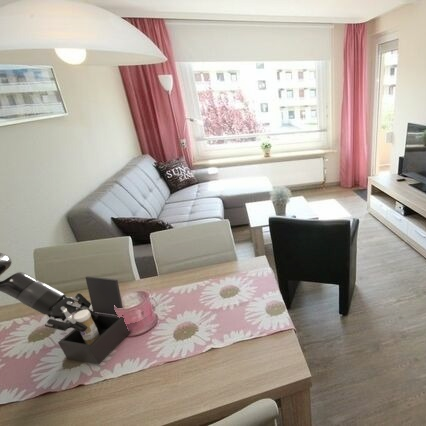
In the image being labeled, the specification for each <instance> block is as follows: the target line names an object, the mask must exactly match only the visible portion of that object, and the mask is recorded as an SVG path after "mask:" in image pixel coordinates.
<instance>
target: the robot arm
mask: <svg viewBox="0 0 426 426" xmlns="http://www.w3.org/2000/svg"><path fill="white" fill-rule="evenodd" d="M12 262H13V261H12V259H11V257H10V256H9V255H8V254H6V253H3V252H0V276H2V275H3V274H4V273H5V272H6V271H7V270H8V269H9V268H10V267H11V265H12V264H13V263H12ZM0 292H1V293H4V294H6V295H8V296H10V297H11V298H14V299H15V300H17V301H19V302H20V303H22V304H23V305H25V306H26V307H28V308H31V309H32V310H34V311H37V312H38V313H41V314H42V315H46V316H48V319H47V321H46V322H45V323H44V327H45V328H51V329H55V330H59V331H63V332H66V331H67V330H69V329H71V328H72V329H73V330H74V329H76V330H78V331H80V332H84V331H85V330H86V329H87V328H88V327H87V326H85V325H83V324H81V323H80V322H76V321H75V320H74V319H73V314H76V313H77V312H79V311H81V310H89V311H90V313H91V317H92V319H93V320H95V319H96V318H97V317H98V315H97V313H96V312H93V310H92V309H90V307H91V306H92V304H91V301H89V300H88V299H87V298H86V297H85V296H84V295H82V294H81V293H80V292H78V293H77V294H76V295H74V296H72V297H70V296H67V295H66V294H65V293H64V292H62V291H60V290H58V289H57V288H54V287H53V286H51V285H49V284H47V283H45V282H43V281H40V280H38V279H37V278H34V277H33V276H30V275H29V274H27V273H25V272H22V271H18V272H15V273H13V274H12V275H10V276H8V277H7V278H5V279H3V280H0Z"/></svg>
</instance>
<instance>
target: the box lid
mask: <svg viewBox="0 0 426 426" xmlns="http://www.w3.org/2000/svg"><path fill="white" fill-rule="evenodd" d="M85 282H86V286H87V290H88V295H89V299H90V303H91V308H92V309H91V310H92V311H93V312H95V313H101V314H108V315H116V316H118V315H117V314H116V312H115V310H114V305H115V306H116V307H117V308H123V309H124V307H123V300H122V296H121V291H120V285H119V281H118V279H115V278H107V277H98V276H88V275H87V276H85ZM122 316H123V317H124V315H122Z"/></svg>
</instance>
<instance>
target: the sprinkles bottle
mask: <svg viewBox="0 0 426 426" xmlns="http://www.w3.org/2000/svg"><path fill="white" fill-rule="evenodd" d="M72 318H73V319H74V320H75V321H76V322H80V323H81V324H83V325H85V326H87V327H88V328H87V329H86V330H85V331H84V332H81V335H82V337H83V339H84V340H85V342H86V344H88V345H91V344H92V343H93V342H94V341H95V340H96V339H97V338H98V337H99V336H100V335H99V332H98V330H97V328H96V325H95V323H94V321H93V319H92V317H91V313H90V311H89V310H81V311H79V312H77V313H73V315H72Z"/></svg>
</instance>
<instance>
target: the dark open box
mask: <svg viewBox="0 0 426 426" xmlns="http://www.w3.org/2000/svg"><path fill="white" fill-rule="evenodd" d="M97 315H98V317H97V318H96V319H95V320H93V321H94V323H95V325H96V328H97V330H98V332H99V335H100V336H99V337H98V338H97V339H96V340H95V341H94V342H93V343H92V344H91V345H88V344H86V342H85V340H84V339H83V337H82V335H81V332H80V331H78V330H76V329H74V328H73V329H72V330H71V331H70V332H69V333H67V334H66V335H65V336H64V337H62V338H61V339H60V340H59V341H58V342H57V343H58V345H59V347H60V349H61V350H62V352H63V354H64V356H65V358H66V359H67V360H71V361H77V362H81V363H83V362H84V363H87V364H93V365H100V364H101V363H102V362H103V360H104V359H105V358H107V356H109V355H110V353H112V352H113V351H114V349H116V348H117V346H119V345H120V344H121V342H122V341H124V339H126V338H127V336H129V334H131V331H130V330H129V331H128V329H127V326H128V325H127V326H126V324H125V322H124V319H125V317H124V316H123V317H124V318H123V317H120V318H119V317H117V316H118V315H111V314H103V313H97Z"/></svg>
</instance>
